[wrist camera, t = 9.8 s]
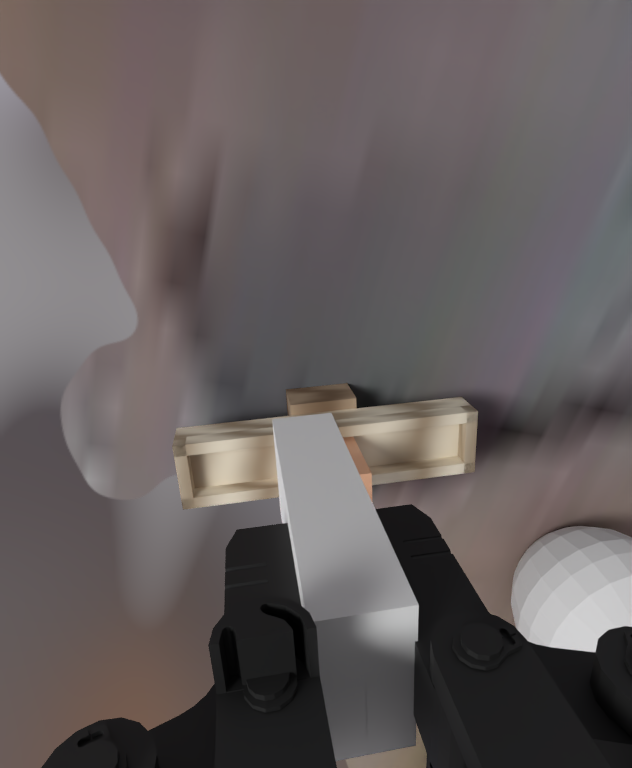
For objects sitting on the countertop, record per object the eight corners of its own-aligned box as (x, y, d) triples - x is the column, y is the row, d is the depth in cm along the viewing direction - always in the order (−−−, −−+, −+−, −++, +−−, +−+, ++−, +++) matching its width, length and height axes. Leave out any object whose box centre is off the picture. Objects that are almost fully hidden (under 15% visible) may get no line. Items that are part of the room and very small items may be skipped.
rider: (308, 470, 46) (323, 524, 38) (306, 438, 44) (321, 486, 37) (352, 465, 46) (375, 517, 39) (351, 433, 45) (375, 480, 38)
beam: (191, 475, 51) (184, 520, 44) (179, 400, 48) (170, 435, 41) (442, 444, 54) (474, 482, 47) (445, 373, 51) (479, 401, 44)
